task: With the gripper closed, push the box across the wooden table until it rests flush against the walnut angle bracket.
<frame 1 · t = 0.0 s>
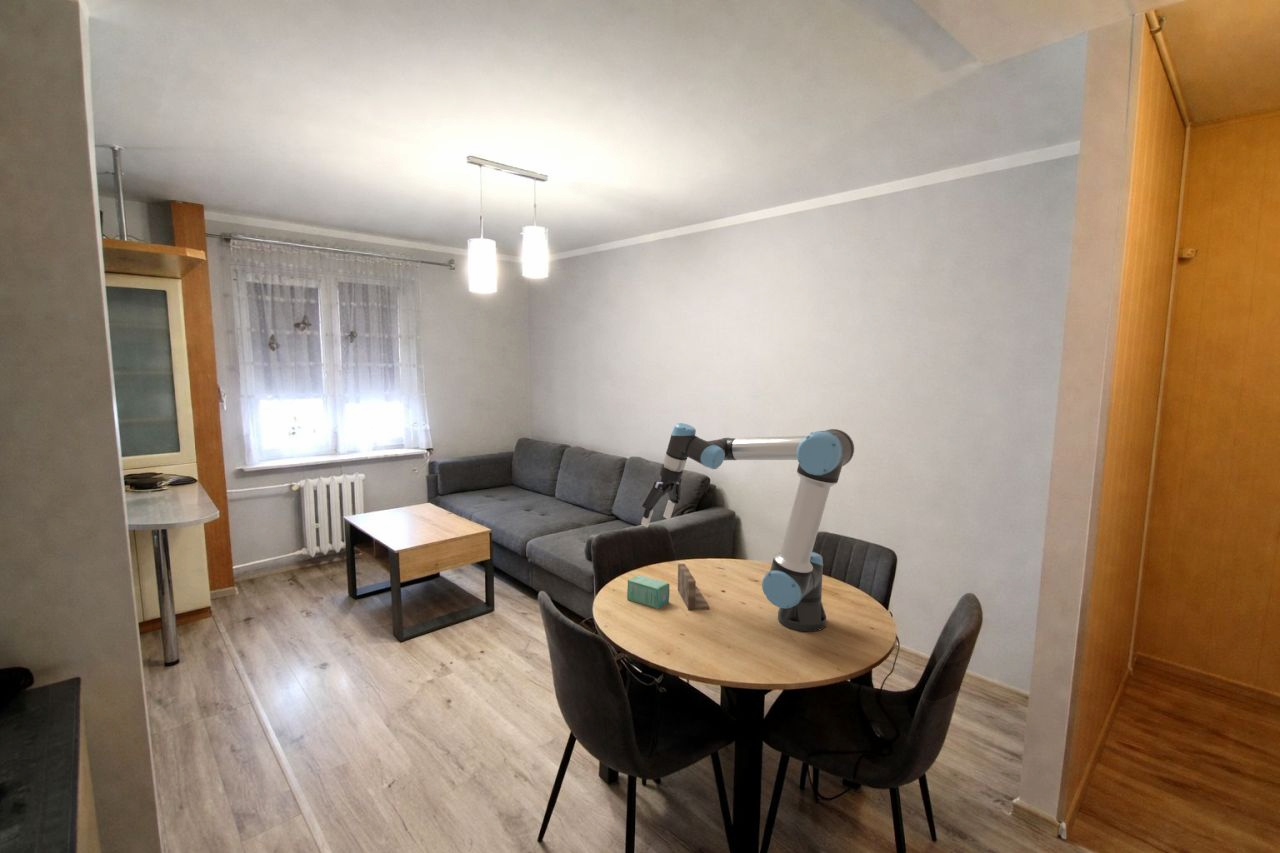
hand: (655, 521, 195), 28 cm above the table, tool tilted 20°, fingers open, 13 cm apart
box: (648, 602, 195), on the table
walnut angle bracket: (686, 599, 197), on the table
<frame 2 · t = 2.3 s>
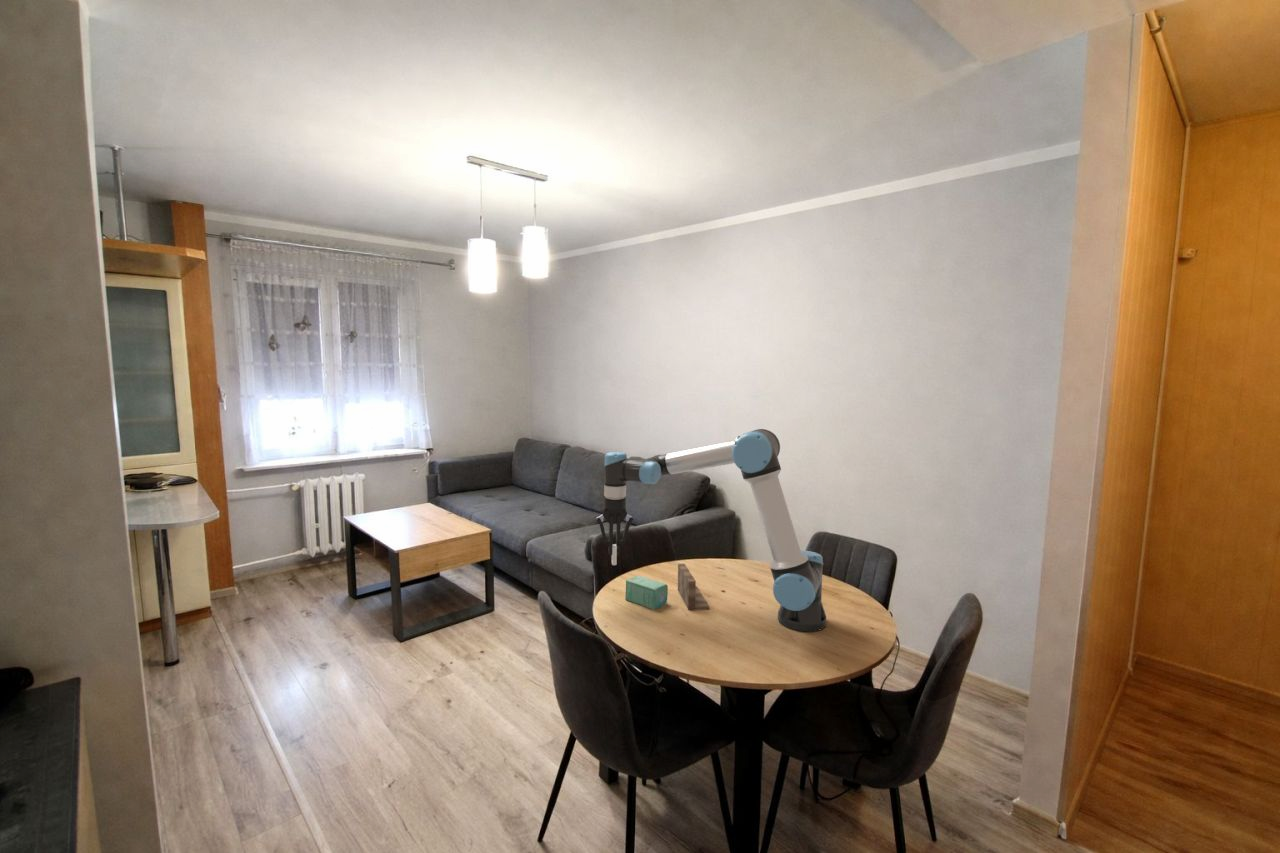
hand: (614, 563, 192), 14 cm above the table, tool pointing down, fingers closed
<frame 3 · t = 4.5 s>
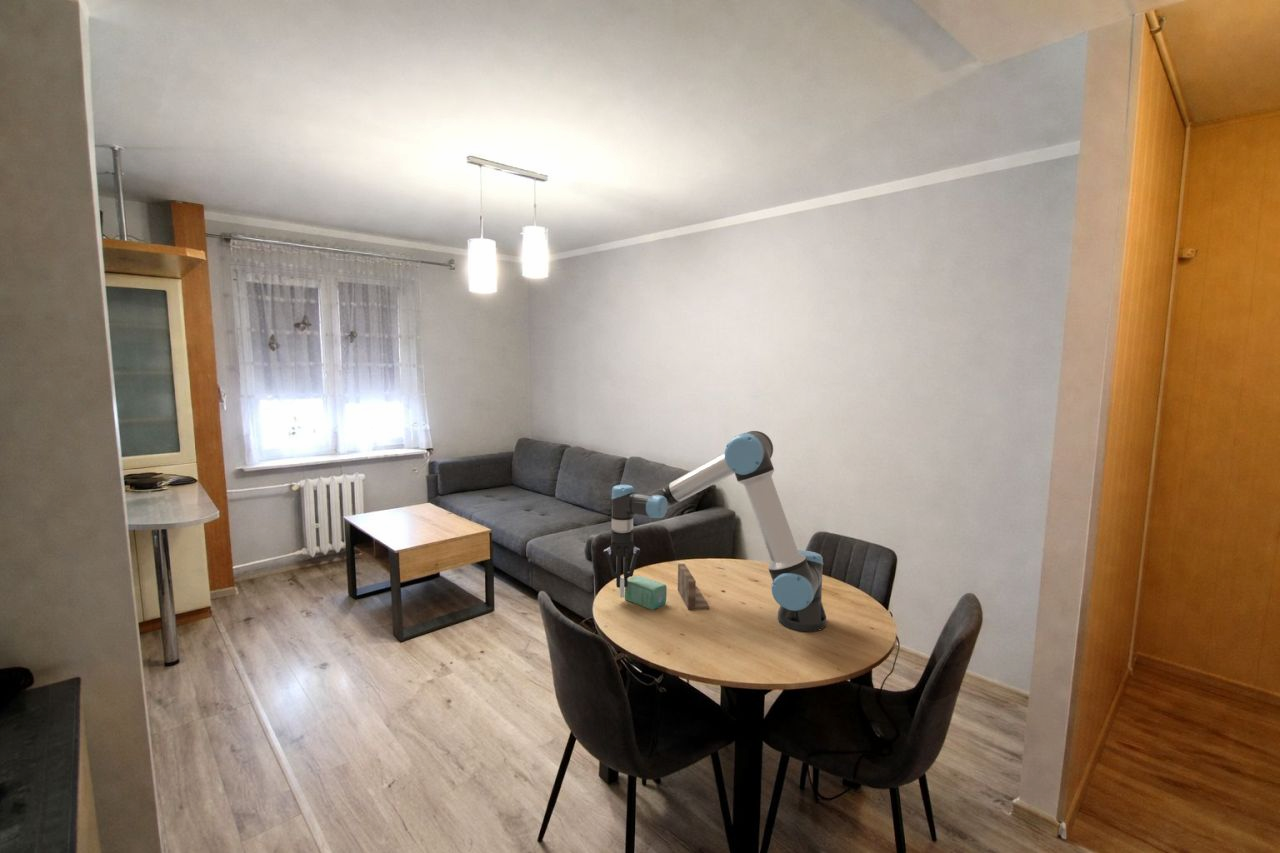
hand: (621, 595, 193), 2 cm above the table, tool pointing down, fingers closed
box: (645, 603, 194), on the table, touching gripper
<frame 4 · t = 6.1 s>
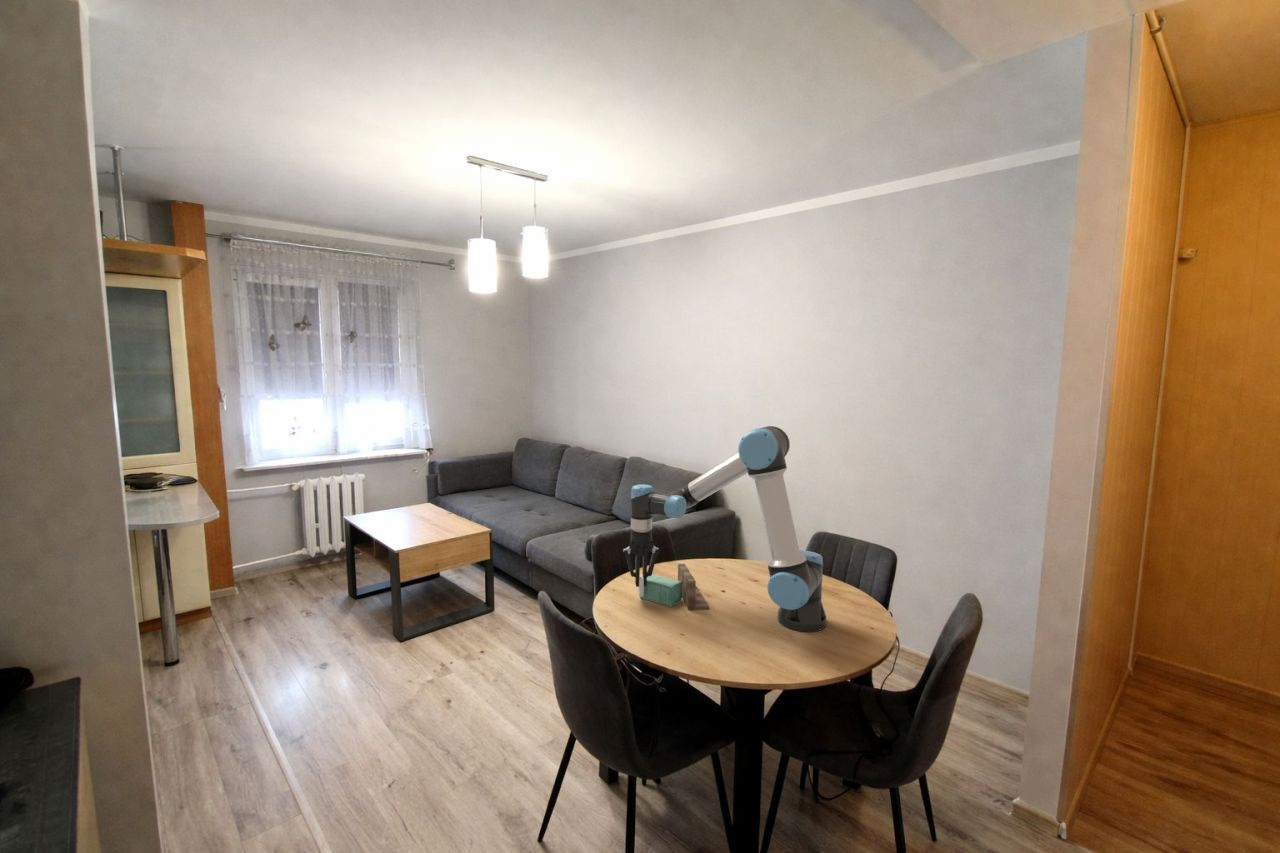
hand: (640, 595, 194), 2 cm above the table, tool pointing down, fingers closed
box: (661, 600, 196), on the table, touching gripper
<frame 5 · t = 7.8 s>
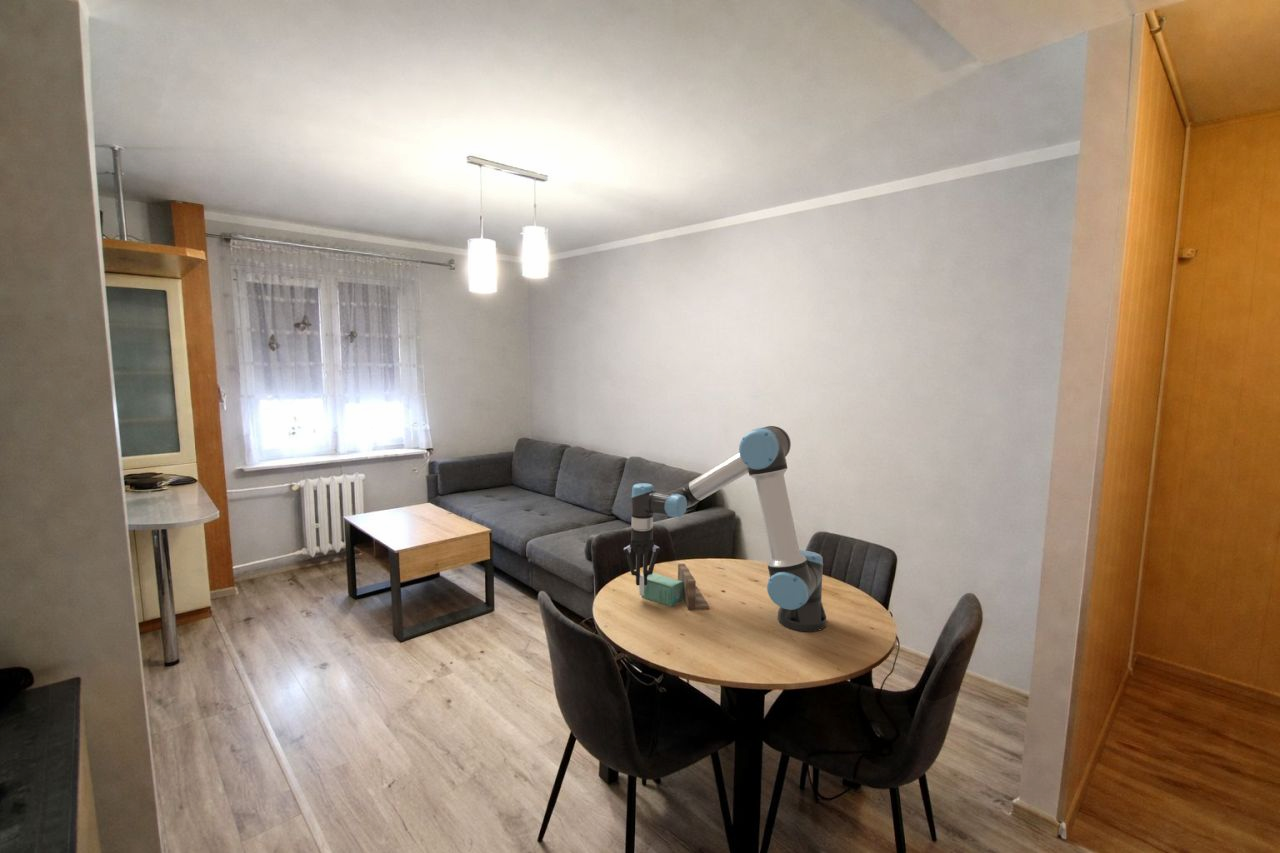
hand: (641, 593, 194), 3 cm above the table, tool pointing down, fingers closed
box: (662, 599, 197), on the table
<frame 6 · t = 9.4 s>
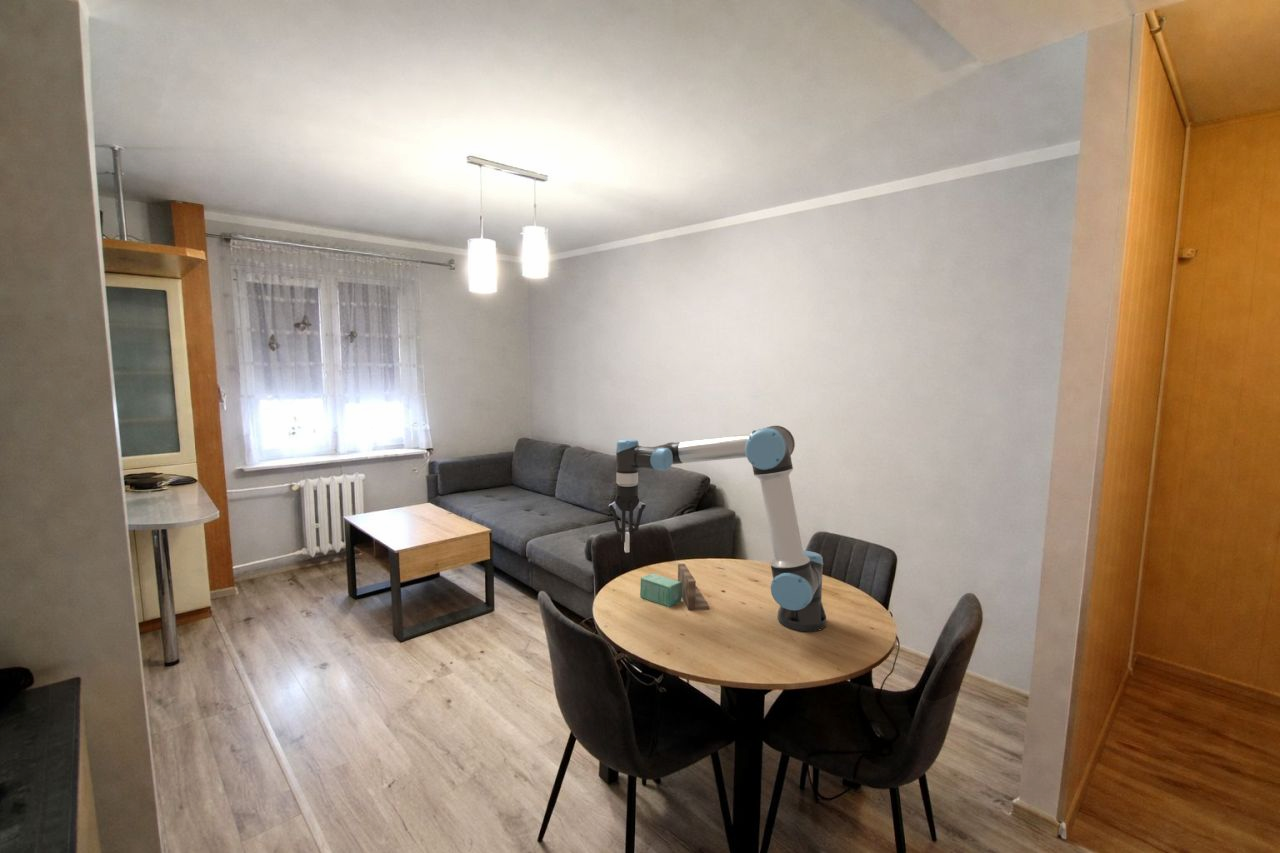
hand: (626, 551, 192), 18 cm above the table, tool pointing down, fingers closed
nothing on the table moved.
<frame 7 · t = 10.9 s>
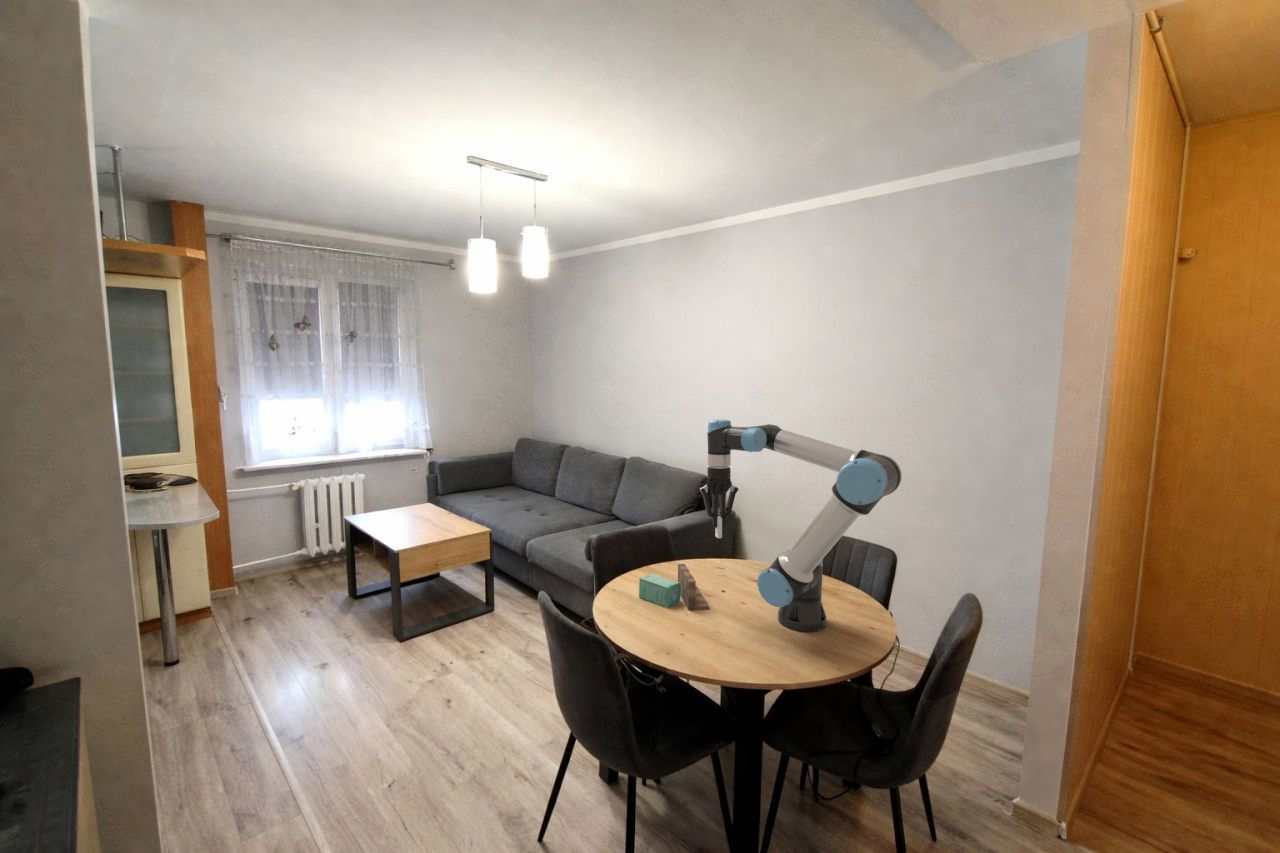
hand: (718, 536, 183), 26 cm above the table, tool pointing down, fingers closed
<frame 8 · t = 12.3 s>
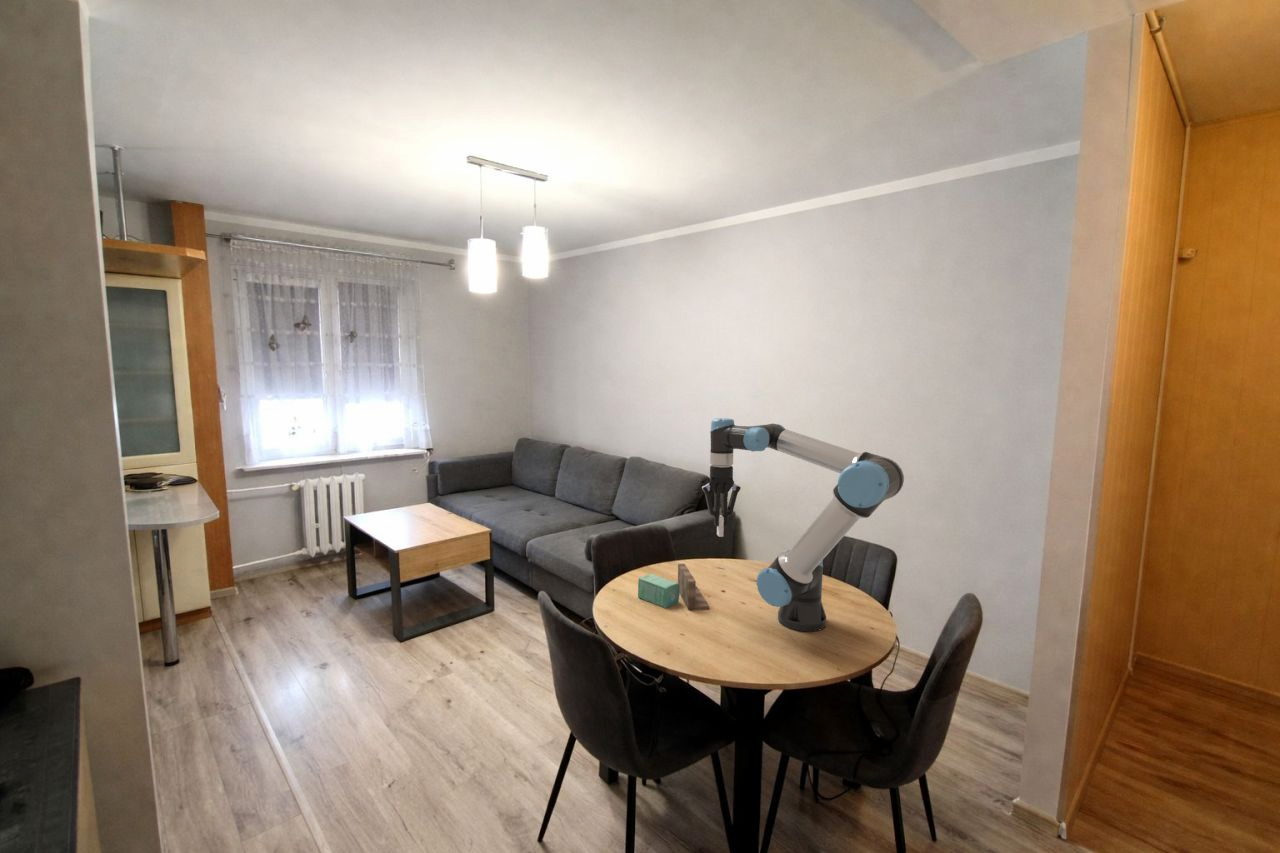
hand: (720, 535, 184), 26 cm above the table, tool pointing down, fingers closed
at the end: box inside the target area (1.9 cm from its centre), on the table; box tilted 0° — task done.
